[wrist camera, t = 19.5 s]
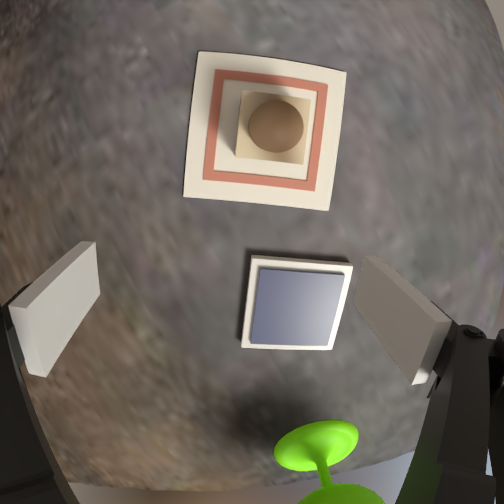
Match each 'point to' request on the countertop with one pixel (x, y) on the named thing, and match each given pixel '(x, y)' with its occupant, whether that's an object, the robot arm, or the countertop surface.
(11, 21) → the countertop surface
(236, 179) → the print card
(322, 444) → the wineglass
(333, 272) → the ink pad
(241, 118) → the wooden stamp
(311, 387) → the countertop surface
